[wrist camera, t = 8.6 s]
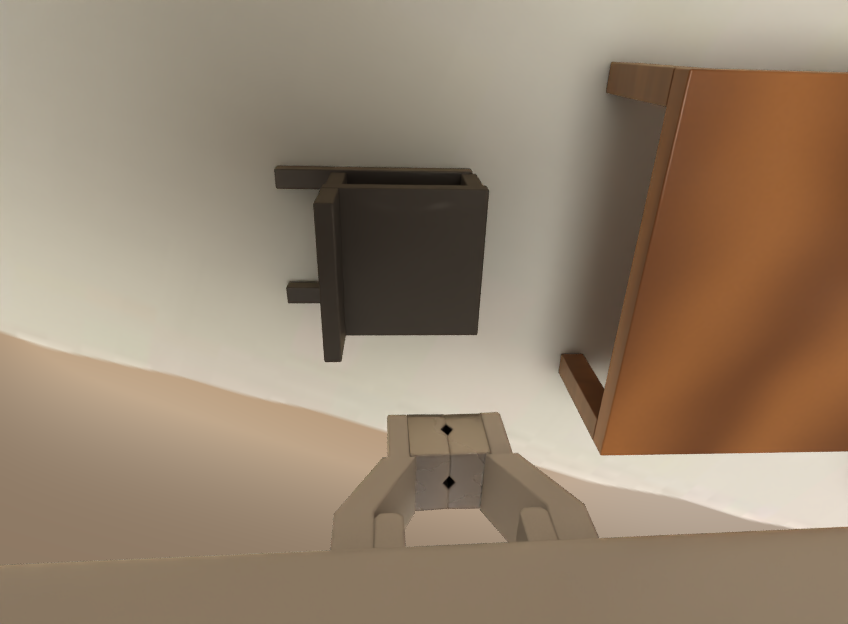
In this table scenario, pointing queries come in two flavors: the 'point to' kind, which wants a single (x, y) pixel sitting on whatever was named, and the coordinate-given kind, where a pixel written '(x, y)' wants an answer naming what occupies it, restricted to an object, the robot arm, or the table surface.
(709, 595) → the robot arm
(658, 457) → the table surface
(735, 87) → the side table
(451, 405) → the table surface
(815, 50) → the table surface
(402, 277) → the chair
